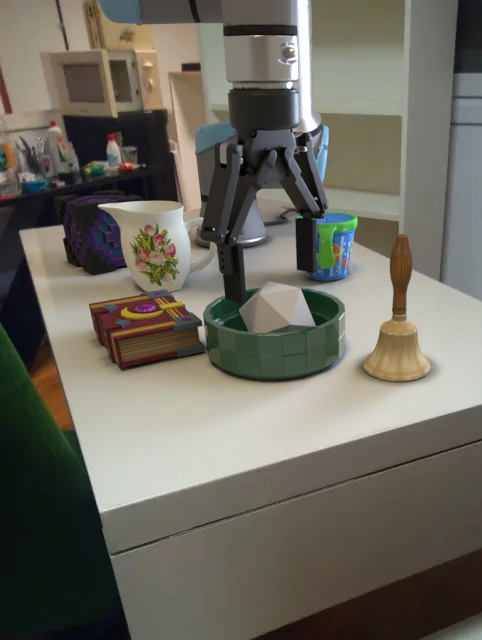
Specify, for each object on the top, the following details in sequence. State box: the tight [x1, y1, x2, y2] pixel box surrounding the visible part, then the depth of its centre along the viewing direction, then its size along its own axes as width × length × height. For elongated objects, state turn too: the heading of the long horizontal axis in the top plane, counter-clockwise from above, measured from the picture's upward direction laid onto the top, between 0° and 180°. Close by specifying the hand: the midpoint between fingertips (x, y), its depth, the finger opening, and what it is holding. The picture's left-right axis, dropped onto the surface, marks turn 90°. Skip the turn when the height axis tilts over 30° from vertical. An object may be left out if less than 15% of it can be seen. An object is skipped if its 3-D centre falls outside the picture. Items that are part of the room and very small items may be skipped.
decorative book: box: [88, 289, 207, 369], centre depth 80 cm, size 11×16×5 cm
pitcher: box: [98, 200, 217, 293], centre depth 98 cm, size 11×18×14 cm, turn 104°
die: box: [239, 280, 316, 333], centre depth 75 cm, size 8×9×10 cm
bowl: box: [202, 287, 346, 381], centre depth 76 cm, size 18×18×6 cm
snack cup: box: [296, 211, 358, 282], centre depth 103 cm, size 16×10×10 cm
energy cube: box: [52, 189, 144, 276], centre depth 112 cm, size 12×12×12 cm
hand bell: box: [362, 233, 432, 383], centre depth 69 cm, size 8×8×16 cm
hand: (273, 285), depth 73 cm, fingers open, 13 cm apart
